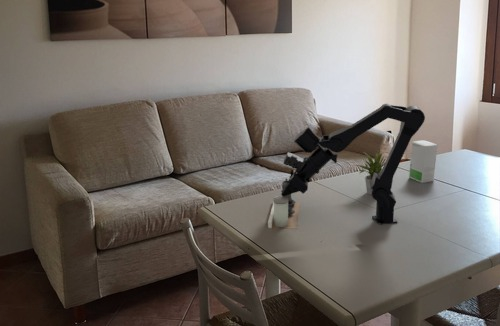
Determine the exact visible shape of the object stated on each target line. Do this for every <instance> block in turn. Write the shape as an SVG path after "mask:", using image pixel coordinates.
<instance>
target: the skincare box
mask: <svg viewBox="0 0 500 326" xmlns="http://www.w3.org/2000/svg"><path fill="white" fill-rule="evenodd" d="M437 152H438V144H436V143H434V142H431V141H427V140H424V139H421V140H414V141H412V142H411V152H410V162H409V170H408V178H409V179H412V180H414V181H417V182H419V183H421V184H424V183H430V182H434V179H435V170H436V163H437Z"/></svg>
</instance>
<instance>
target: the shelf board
mask: <svg viewBox="0 0 500 326" xmlns="http://www.w3.org/2000/svg"><path fill="white" fill-rule="evenodd" d="M300 206H301V202H300V201H295V205H294V207H293V208H292V209H293V210H294V211H295V212H294V213H293V214H290V215H288V226H287V227H276V226H274V220H273V224H272V228H271V229H282V230H284V229H285V230H287V229H289V230H297V228H298V221H299V213H300Z"/></svg>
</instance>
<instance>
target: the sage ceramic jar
mask: <svg viewBox="0 0 500 326" xmlns="http://www.w3.org/2000/svg"><path fill="white" fill-rule="evenodd" d="M272 203H274V226H276V227H287V226H288V197H285V196H282V195H277V197H275V196H274V197H273V202H272Z"/></svg>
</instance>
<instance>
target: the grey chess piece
mask: <svg viewBox="0 0 500 326" xmlns="http://www.w3.org/2000/svg"><path fill="white" fill-rule="evenodd" d="M288 180H289V179H288V178H285V179H284V180H283V181H282V183H281V188H282V189H281V191H280V192H281V193H282V192H283V191H284V189H285V188H286V187H287V185H288V184H289V183H290V181H288ZM285 197H288V215H290V214H293V213H294V212H295V211H294V210H293V209H292V208H293V207H294V205H295V202H296V201H295V200H294V199H293V198H292V194H289V195H286V196H285Z"/></svg>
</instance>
